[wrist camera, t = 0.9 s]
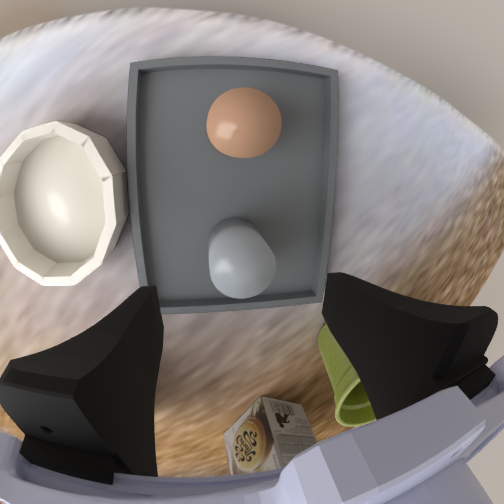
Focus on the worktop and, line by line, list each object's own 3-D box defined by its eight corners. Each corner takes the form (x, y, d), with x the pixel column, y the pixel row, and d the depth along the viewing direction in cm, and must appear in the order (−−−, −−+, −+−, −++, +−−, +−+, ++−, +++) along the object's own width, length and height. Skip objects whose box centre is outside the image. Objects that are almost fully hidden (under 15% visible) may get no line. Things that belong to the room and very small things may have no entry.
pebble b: (262, 157, 18) (280, 159, 14) (205, 157, 17) (206, 158, 13) (263, 103, 16) (282, 89, 12) (206, 102, 16) (207, 86, 12)
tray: (315, 293, 23) (322, 302, 22) (148, 304, 21) (145, 314, 19) (328, 74, 17) (337, 70, 15) (135, 68, 14) (130, 62, 13)
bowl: (135, 264, 19) (125, 284, 16) (26, 269, 17) (8, 285, 14) (125, 115, 15) (111, 109, 12) (10, 142, 13) (-13, 144, 11)
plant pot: (397, 302, 26) (448, 349, 18) (352, 369, 28) (387, 422, 20) (331, 280, 23) (386, 340, 15) (284, 361, 25) (313, 430, 17)
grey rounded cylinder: (259, 266, 21) (274, 296, 16) (208, 269, 20) (211, 300, 16) (261, 216, 19) (277, 235, 15) (206, 218, 19) (208, 238, 14)
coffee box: (263, 439, 31) (291, 537, 16) (221, 433, 29) (241, 544, 14) (304, 402, 29) (351, 514, 14) (260, 394, 27) (300, 526, 12)
